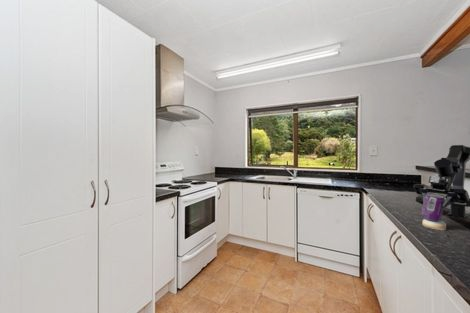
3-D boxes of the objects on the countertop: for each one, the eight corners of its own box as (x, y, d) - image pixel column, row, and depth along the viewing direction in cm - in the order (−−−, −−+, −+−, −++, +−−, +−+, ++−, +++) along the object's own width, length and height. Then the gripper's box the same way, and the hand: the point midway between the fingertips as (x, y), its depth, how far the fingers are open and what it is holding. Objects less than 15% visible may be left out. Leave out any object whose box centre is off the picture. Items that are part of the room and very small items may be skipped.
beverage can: (444, 223, 93) (450, 198, 91) (427, 221, 94) (432, 197, 92) (433, 216, 100) (438, 193, 98) (416, 214, 101) (421, 192, 99)
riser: (427, 223, 101) (427, 217, 101) (449, 228, 94) (449, 222, 94) (419, 225, 97) (419, 219, 97) (441, 231, 90) (441, 224, 90)
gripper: (415, 168, 105) (403, 191, 101) (467, 171, 88) (455, 199, 84) (422, 182, 109) (411, 204, 104) (474, 188, 92) (463, 215, 87)
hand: (433, 205), depth 95 cm, fingers closed on beverage can, 7 cm apart
